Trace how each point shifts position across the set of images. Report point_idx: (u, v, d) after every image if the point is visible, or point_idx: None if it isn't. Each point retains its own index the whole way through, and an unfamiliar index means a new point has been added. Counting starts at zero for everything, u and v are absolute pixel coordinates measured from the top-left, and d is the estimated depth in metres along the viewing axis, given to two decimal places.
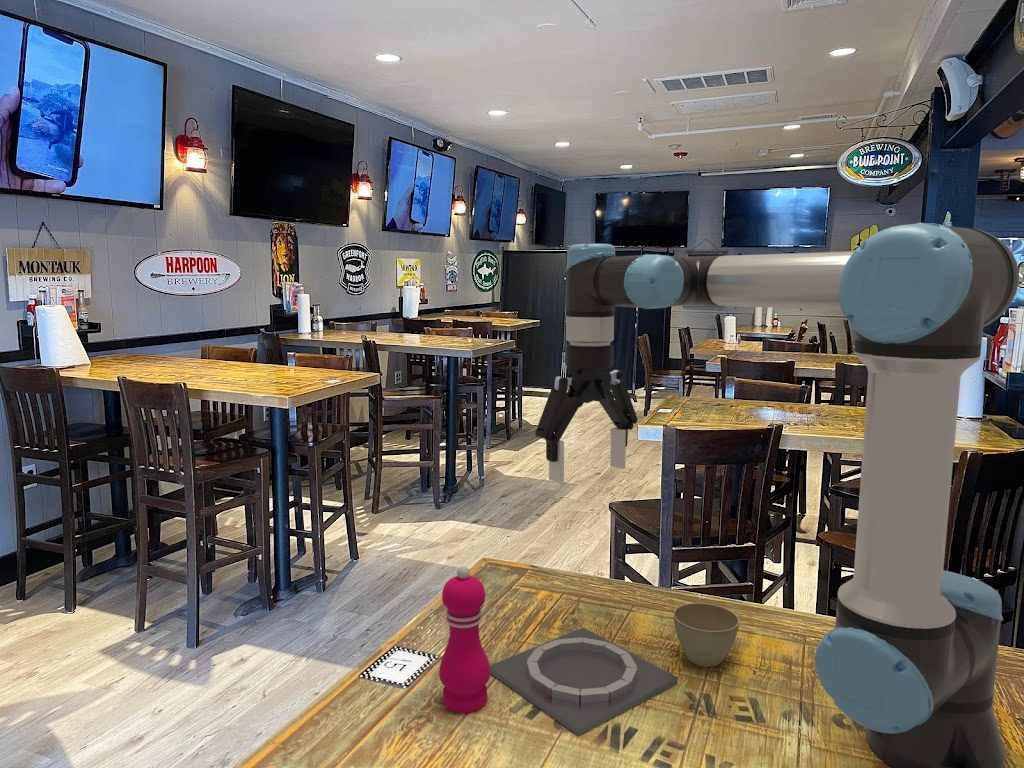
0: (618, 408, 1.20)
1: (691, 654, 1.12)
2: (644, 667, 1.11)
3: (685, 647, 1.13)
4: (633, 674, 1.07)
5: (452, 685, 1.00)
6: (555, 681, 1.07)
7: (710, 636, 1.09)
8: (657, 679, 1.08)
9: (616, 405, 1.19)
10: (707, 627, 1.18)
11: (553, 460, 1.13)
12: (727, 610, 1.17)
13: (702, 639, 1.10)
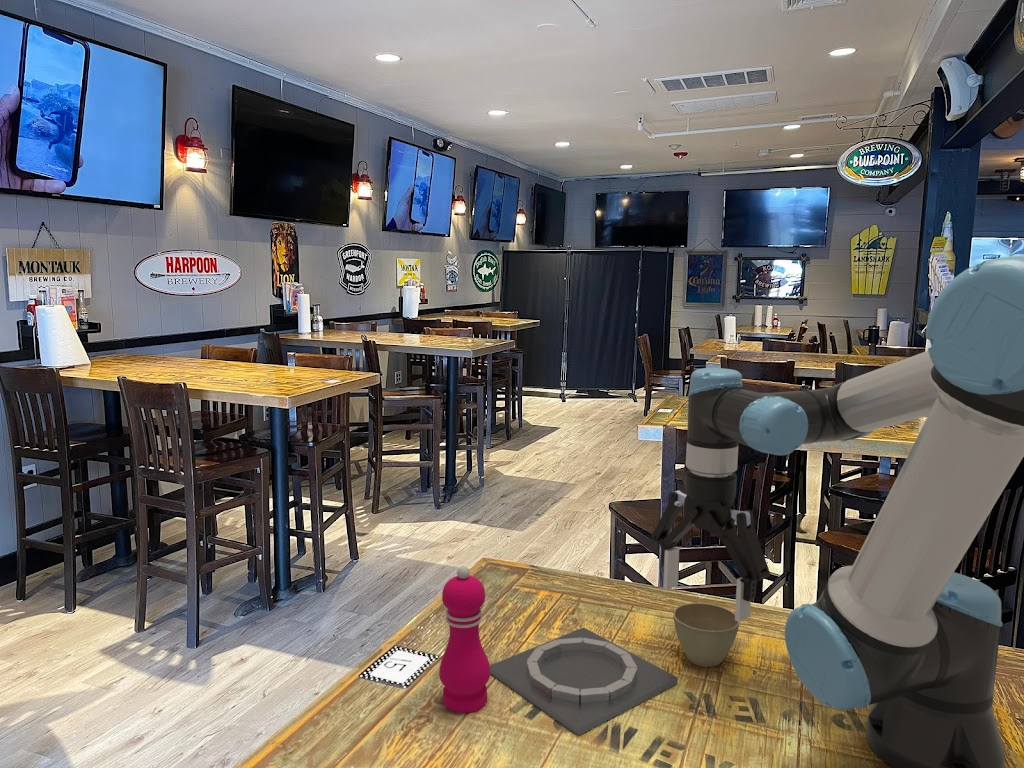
0: (733, 551, 1.08)
1: (691, 654, 1.12)
2: (644, 667, 1.11)
3: (685, 647, 1.13)
4: (633, 674, 1.07)
5: (452, 685, 1.00)
6: (555, 681, 1.07)
7: (710, 636, 1.09)
8: (657, 679, 1.08)
9: (730, 546, 1.08)
10: (708, 627, 1.18)
11: (662, 564, 1.19)
12: (727, 611, 1.17)
13: (702, 639, 1.10)
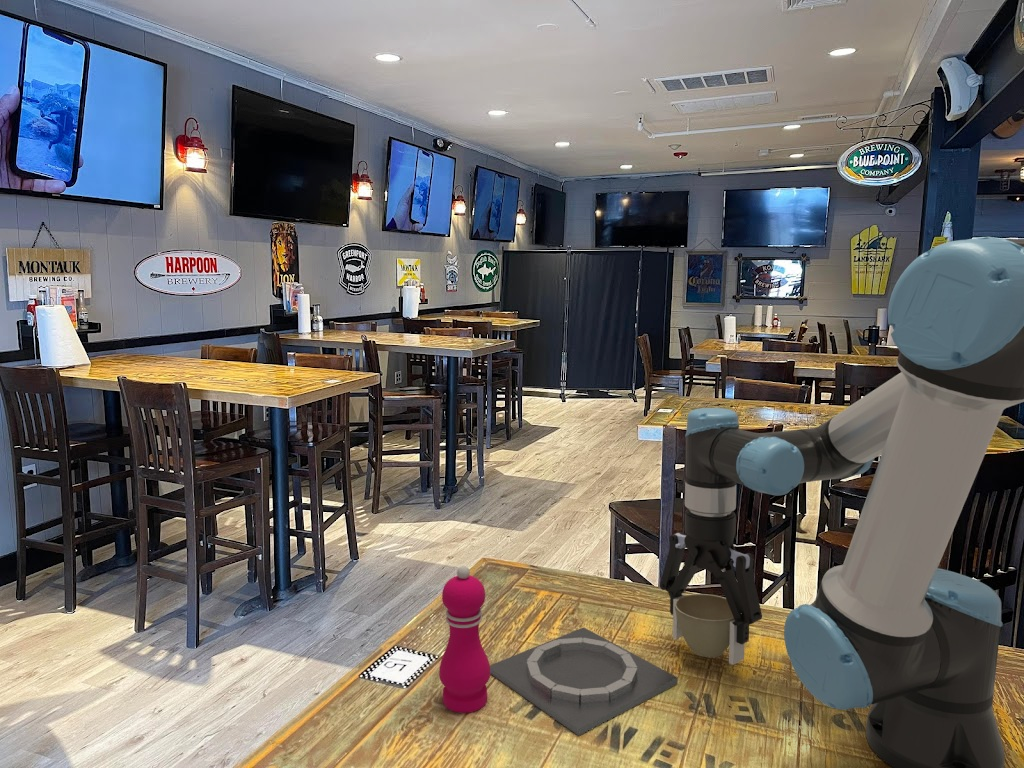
0: (729, 593, 1.09)
1: (693, 645, 1.12)
2: (644, 667, 1.11)
3: (687, 638, 1.12)
4: (633, 674, 1.07)
5: (452, 685, 1.00)
6: (555, 681, 1.07)
7: (712, 626, 1.09)
8: (657, 679, 1.08)
9: (726, 588, 1.09)
10: (710, 619, 1.18)
11: (671, 613, 1.19)
12: None
13: (704, 629, 1.09)
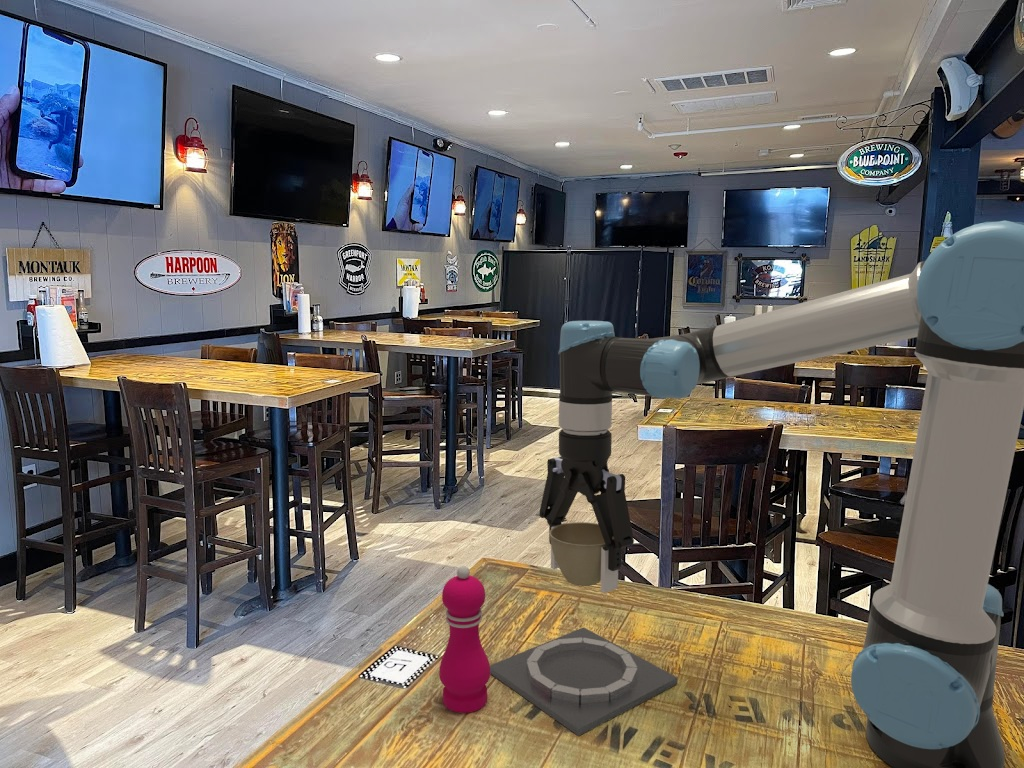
0: (601, 517, 1.02)
1: (566, 572, 1.05)
2: (644, 667, 1.11)
3: (560, 565, 1.05)
4: (633, 674, 1.07)
5: (452, 685, 1.00)
6: (555, 681, 1.07)
7: (582, 551, 1.02)
8: (657, 679, 1.08)
9: (598, 512, 1.02)
10: None
11: (550, 542, 1.12)
12: None
13: (574, 554, 1.02)
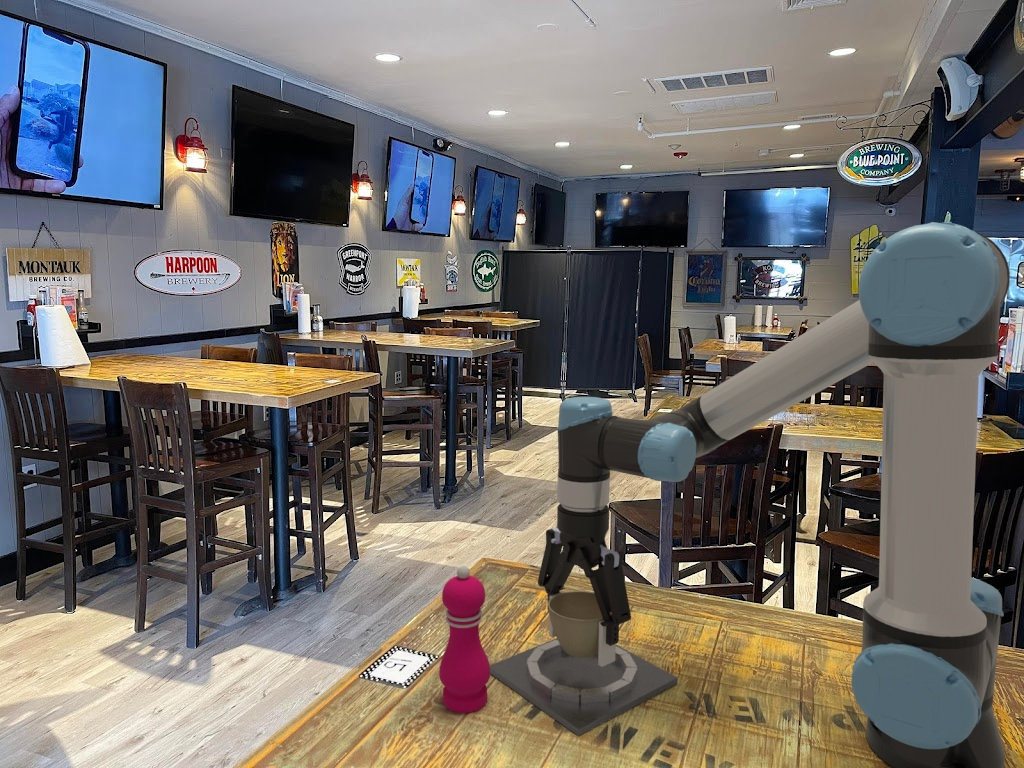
0: (598, 592, 1.03)
1: (564, 645, 1.06)
2: (644, 667, 1.11)
3: (558, 637, 1.07)
4: (633, 674, 1.07)
5: (452, 685, 1.00)
6: (555, 681, 1.07)
7: (580, 625, 1.03)
8: (657, 679, 1.08)
9: (596, 587, 1.03)
10: (588, 617, 1.12)
11: (548, 610, 1.13)
12: None
13: (572, 628, 1.04)
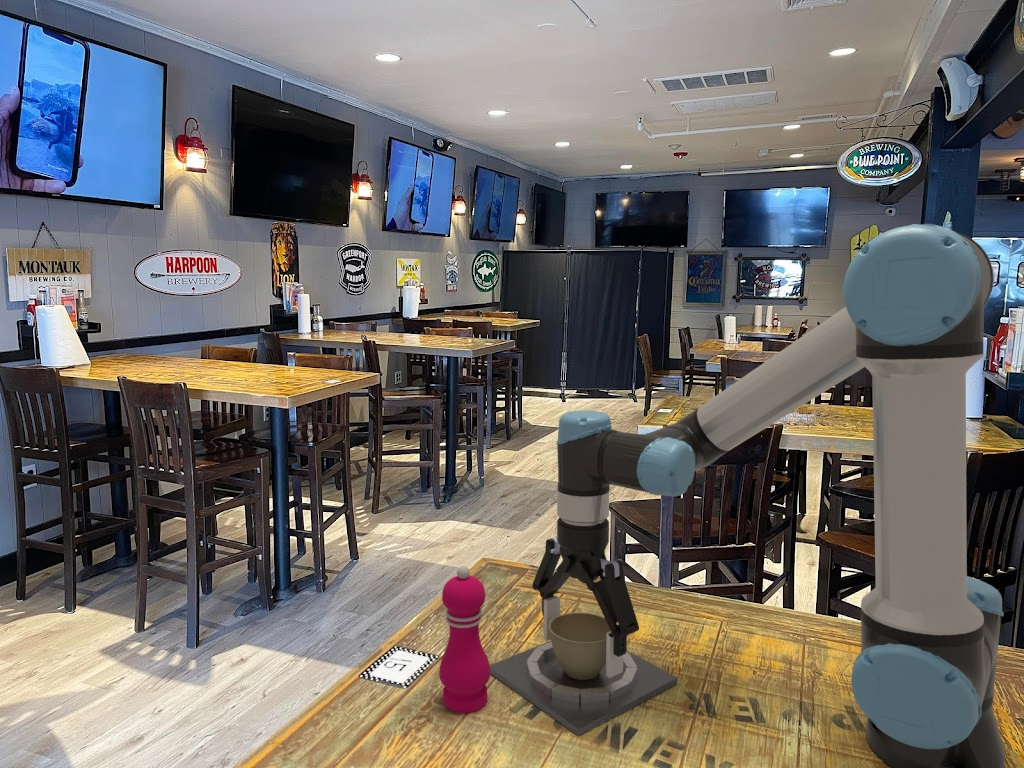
0: (603, 604, 1.03)
1: (565, 667, 1.07)
2: (644, 667, 1.11)
3: (559, 659, 1.07)
4: (633, 674, 1.07)
5: (452, 685, 1.00)
6: (555, 681, 1.07)
7: (581, 648, 1.04)
8: (657, 679, 1.08)
9: (600, 598, 1.03)
10: (589, 638, 1.13)
11: (543, 614, 1.14)
12: None
13: (573, 651, 1.04)
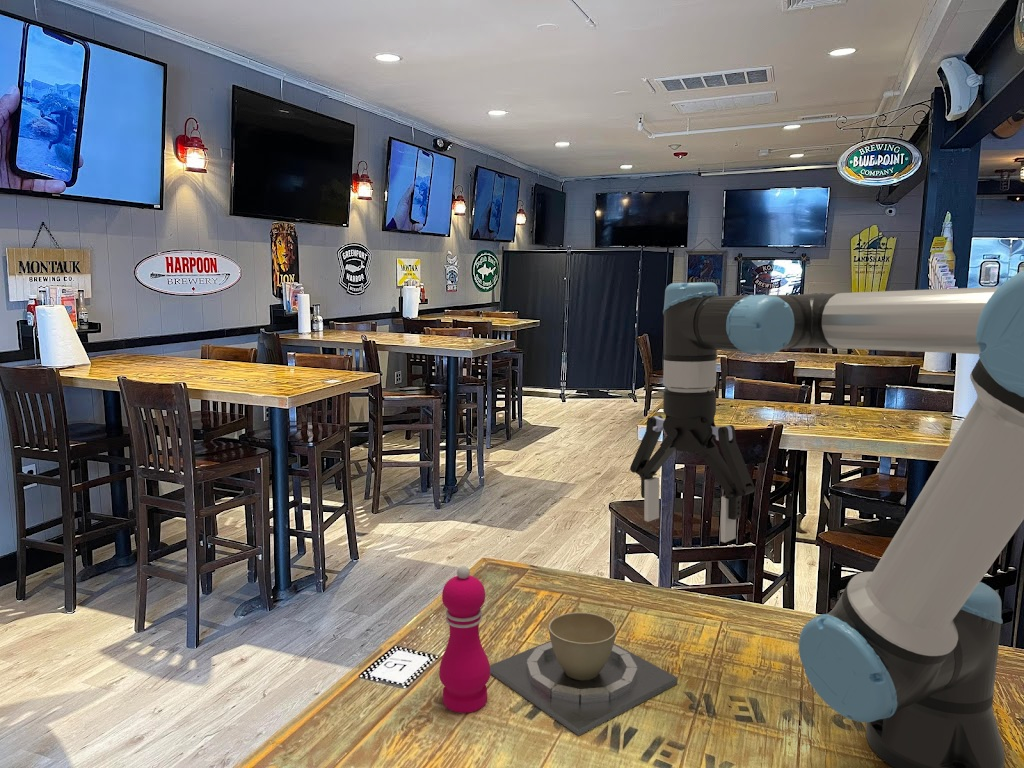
0: (716, 468, 1.04)
1: (565, 667, 1.07)
2: (644, 667, 1.11)
3: (559, 659, 1.07)
4: (633, 674, 1.07)
5: (452, 685, 1.00)
6: (555, 681, 1.07)
7: (581, 648, 1.04)
8: (657, 679, 1.08)
9: (713, 464, 1.04)
10: (589, 638, 1.13)
11: (642, 496, 1.15)
12: (608, 621, 1.11)
13: (573, 651, 1.04)
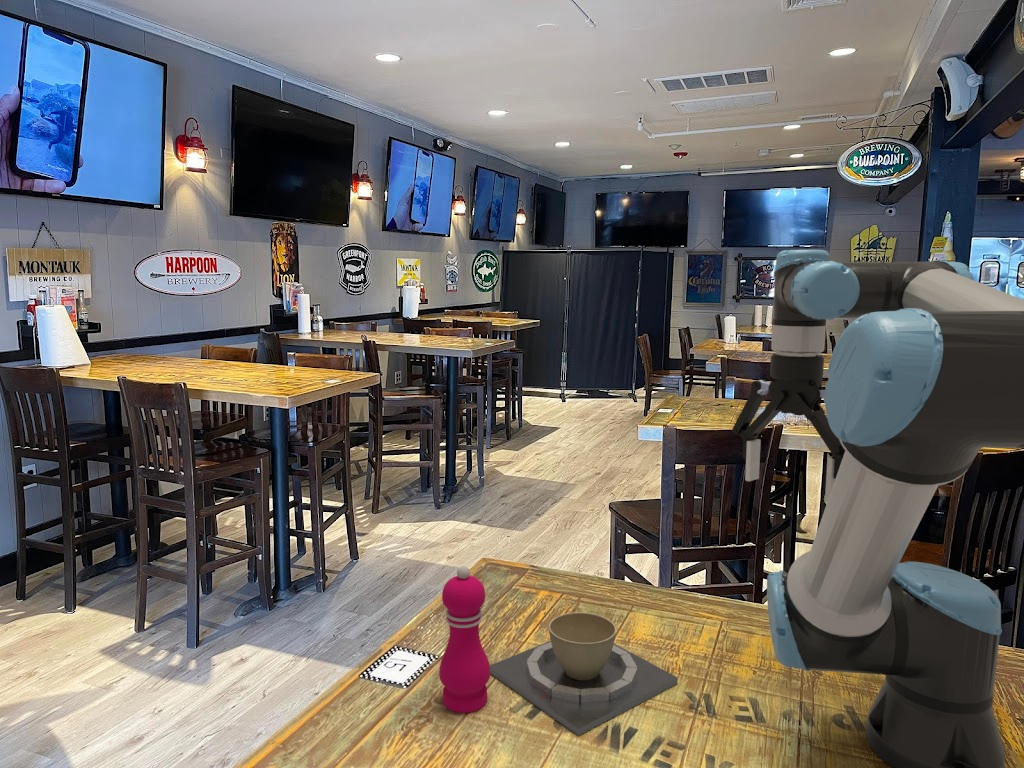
0: (823, 430, 1.07)
1: (565, 667, 1.07)
2: (644, 667, 1.11)
3: (559, 659, 1.07)
4: (633, 674, 1.07)
5: (452, 685, 1.00)
6: (555, 681, 1.07)
7: (581, 648, 1.04)
8: (657, 679, 1.08)
9: (820, 426, 1.08)
10: (589, 638, 1.13)
11: (743, 457, 1.19)
12: (608, 621, 1.11)
13: (573, 651, 1.04)
